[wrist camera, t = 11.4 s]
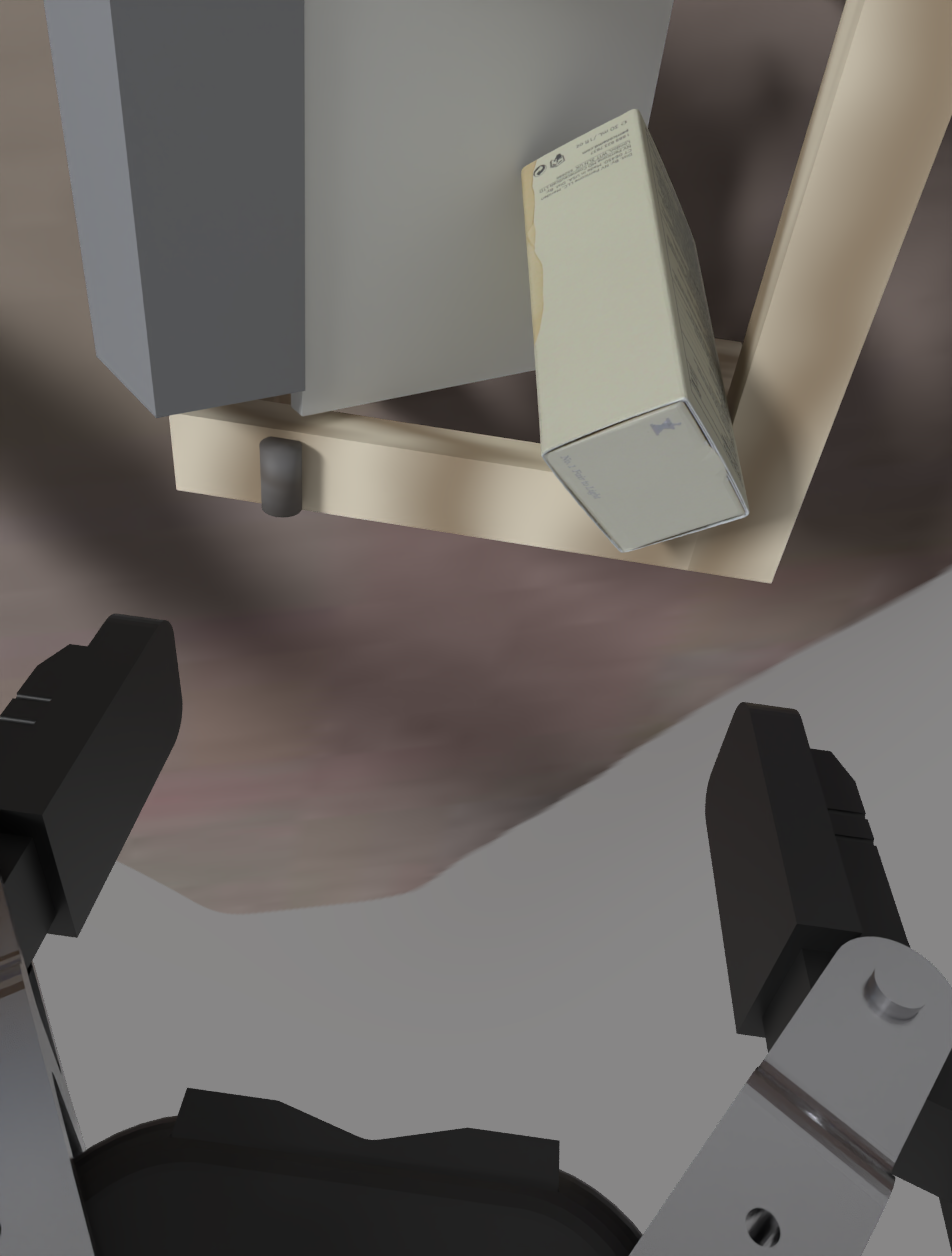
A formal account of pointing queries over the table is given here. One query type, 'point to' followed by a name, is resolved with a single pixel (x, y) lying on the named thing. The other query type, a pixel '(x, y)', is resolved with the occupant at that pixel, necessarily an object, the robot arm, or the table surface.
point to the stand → (752, 373)
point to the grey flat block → (324, 183)
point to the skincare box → (626, 342)
